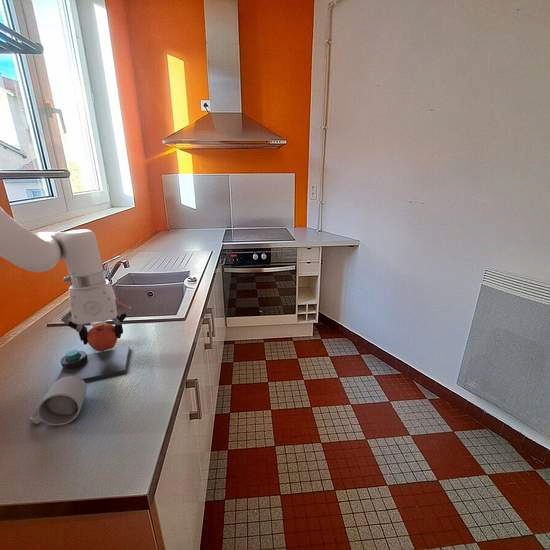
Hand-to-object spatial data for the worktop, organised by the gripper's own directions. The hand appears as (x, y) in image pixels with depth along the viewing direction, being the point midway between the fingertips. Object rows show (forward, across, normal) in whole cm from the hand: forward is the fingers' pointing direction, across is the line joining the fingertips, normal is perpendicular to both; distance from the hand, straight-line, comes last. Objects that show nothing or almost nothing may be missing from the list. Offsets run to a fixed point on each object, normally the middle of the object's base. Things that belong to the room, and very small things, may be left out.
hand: (103, 338), depth 83 cm
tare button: (+5, -8, +1) cm, 10 cm away
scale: (+8, -3, -2) cm, 8 cm away
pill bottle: (+8, -3, +10) cm, 13 cm away
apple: (+3, 0, 0) cm, 3 cm away
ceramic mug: (+8, -7, -18) cm, 21 cm away
